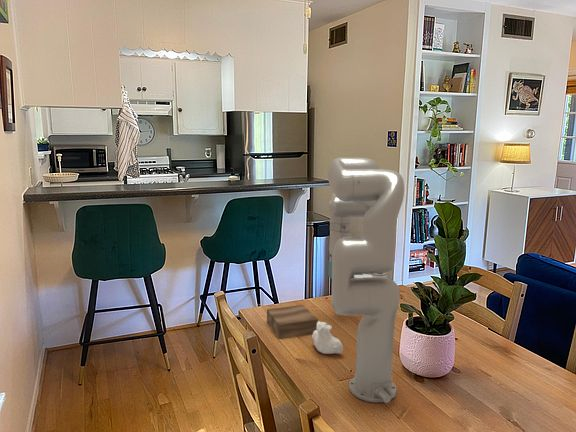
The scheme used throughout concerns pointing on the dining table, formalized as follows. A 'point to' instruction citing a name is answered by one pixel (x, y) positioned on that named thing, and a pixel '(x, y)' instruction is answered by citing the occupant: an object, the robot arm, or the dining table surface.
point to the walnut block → (291, 321)
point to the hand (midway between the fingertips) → (338, 274)
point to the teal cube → (330, 268)
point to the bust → (326, 339)
